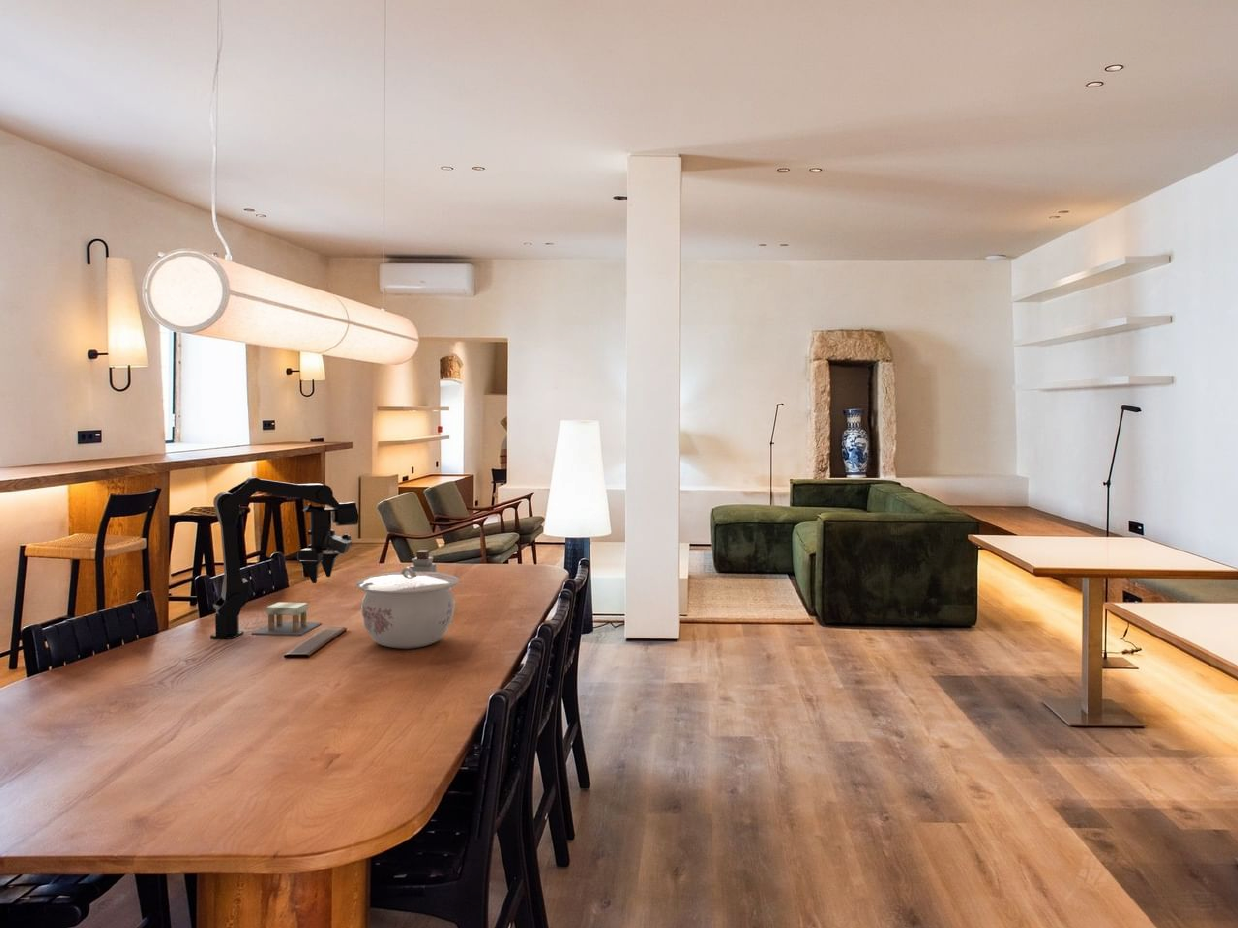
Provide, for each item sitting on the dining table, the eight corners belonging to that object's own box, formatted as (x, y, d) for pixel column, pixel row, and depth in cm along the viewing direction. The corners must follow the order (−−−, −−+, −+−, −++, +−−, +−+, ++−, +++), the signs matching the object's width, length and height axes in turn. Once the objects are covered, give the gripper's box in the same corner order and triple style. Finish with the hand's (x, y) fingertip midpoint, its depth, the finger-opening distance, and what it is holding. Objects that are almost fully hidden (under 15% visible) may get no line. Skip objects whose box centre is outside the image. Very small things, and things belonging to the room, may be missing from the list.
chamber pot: (435, 659, 216) (435, 577, 215) (335, 652, 221) (334, 573, 220) (476, 632, 243) (475, 559, 242) (386, 627, 249) (385, 556, 248)
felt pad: (300, 635, 238) (300, 634, 238) (251, 634, 239) (251, 633, 239) (321, 623, 252) (321, 622, 252) (276, 622, 253) (276, 621, 253)
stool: (266, 629, 243) (266, 607, 242) (278, 624, 249) (277, 602, 249) (297, 630, 242) (297, 608, 242) (307, 625, 248) (307, 603, 248)
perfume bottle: (436, 604, 279) (436, 549, 278) (429, 609, 272) (429, 552, 271) (416, 604, 280) (416, 549, 279) (409, 608, 273) (408, 552, 272)
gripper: (334, 531, 241) (334, 586, 241) (360, 523, 259) (360, 574, 260) (295, 530, 242) (296, 585, 242) (324, 522, 260) (324, 574, 261)
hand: (321, 579), depth 251 cm, fingers open, 9 cm apart
